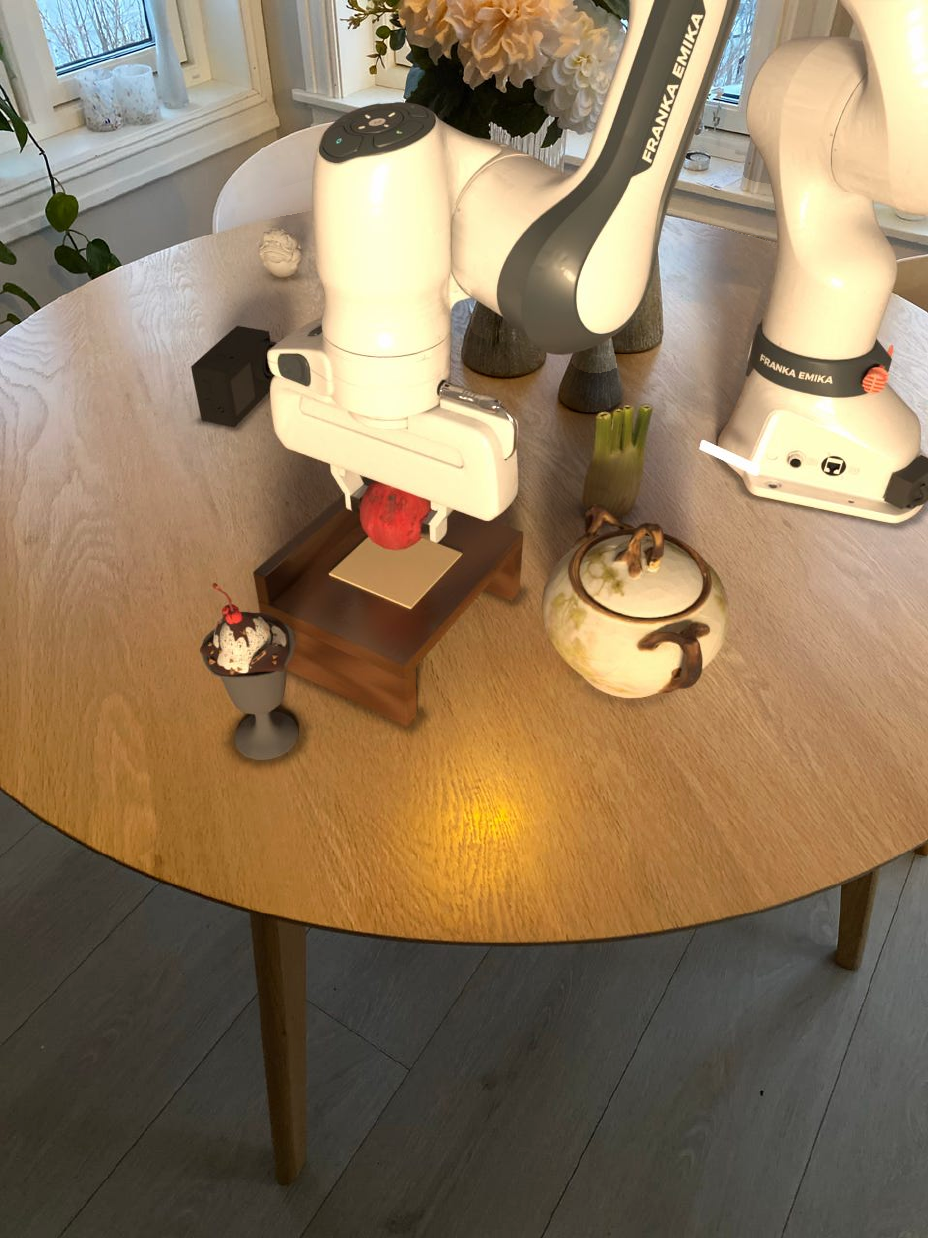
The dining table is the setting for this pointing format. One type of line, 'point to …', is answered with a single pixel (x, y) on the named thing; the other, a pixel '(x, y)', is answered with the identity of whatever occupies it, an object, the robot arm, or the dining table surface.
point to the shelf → (380, 600)
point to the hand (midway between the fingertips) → (395, 521)
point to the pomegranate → (392, 516)
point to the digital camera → (233, 376)
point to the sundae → (254, 677)
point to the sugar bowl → (634, 608)
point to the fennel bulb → (617, 460)
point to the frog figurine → (280, 252)
